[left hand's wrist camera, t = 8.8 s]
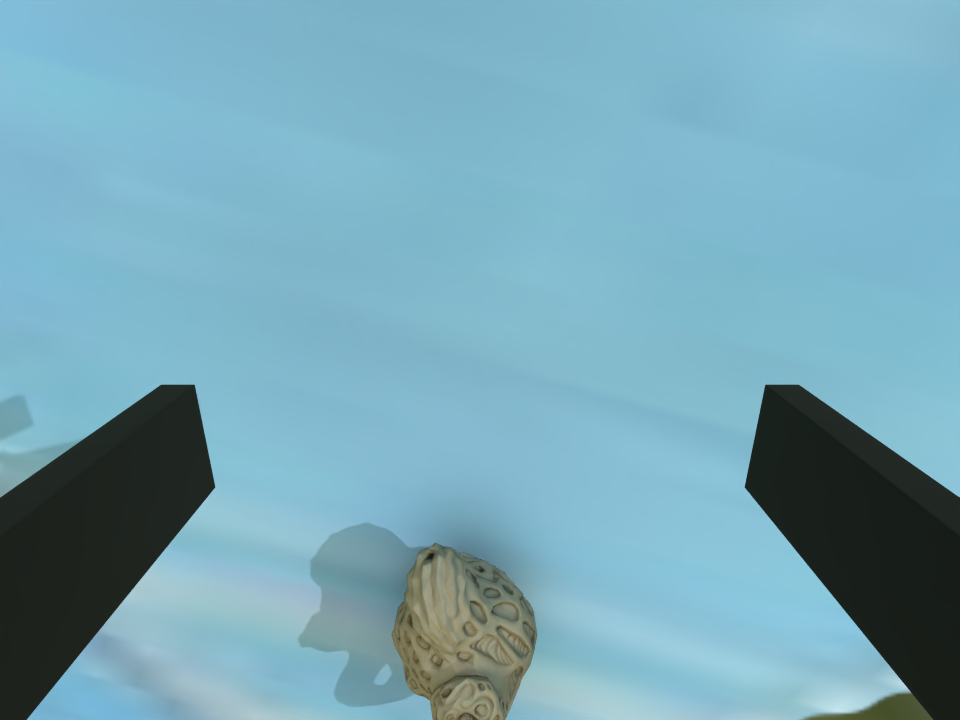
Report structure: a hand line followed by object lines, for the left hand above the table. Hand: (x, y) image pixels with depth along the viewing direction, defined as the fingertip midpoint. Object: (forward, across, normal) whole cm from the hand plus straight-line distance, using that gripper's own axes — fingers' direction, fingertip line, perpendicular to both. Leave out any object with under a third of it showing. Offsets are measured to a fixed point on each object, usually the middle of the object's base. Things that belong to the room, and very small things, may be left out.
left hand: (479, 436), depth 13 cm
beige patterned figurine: (+28, -1, -31) cm, 41 cm away
